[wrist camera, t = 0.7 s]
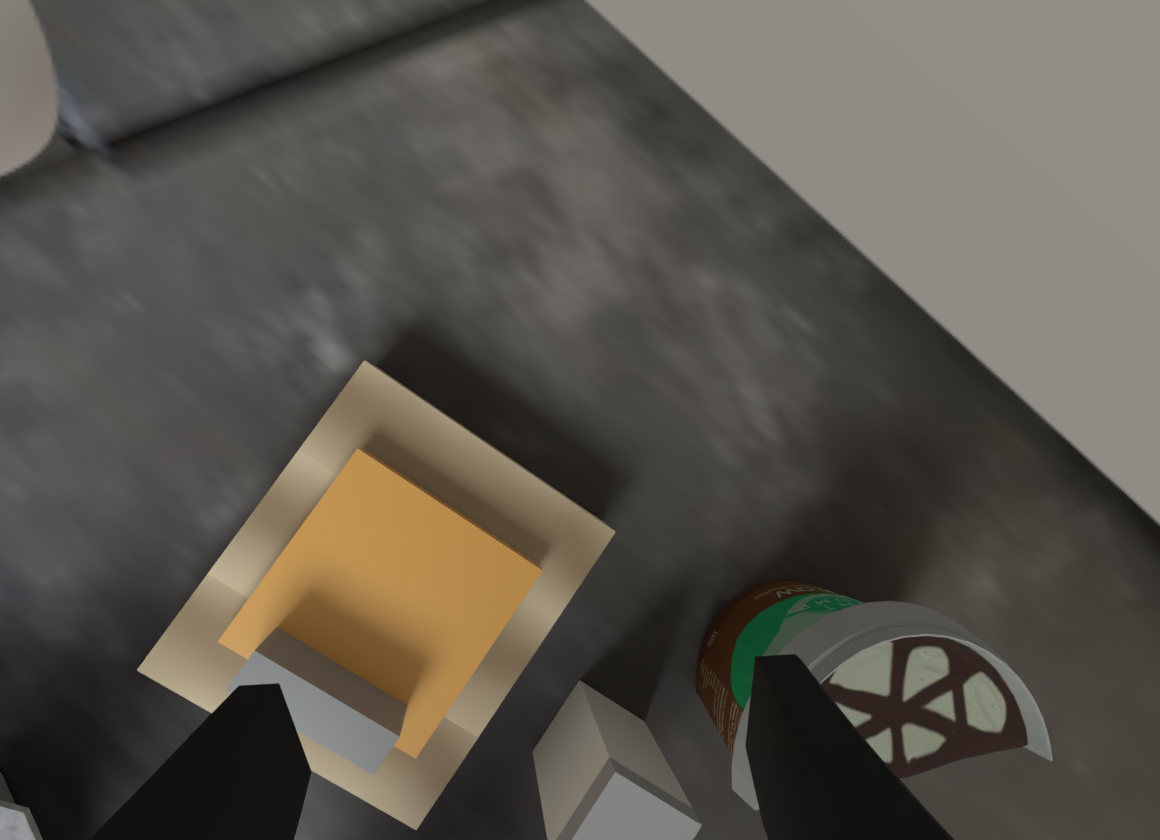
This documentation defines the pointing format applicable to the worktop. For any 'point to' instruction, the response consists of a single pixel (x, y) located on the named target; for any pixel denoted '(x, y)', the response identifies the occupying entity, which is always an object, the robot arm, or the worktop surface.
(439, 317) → the worktop surface
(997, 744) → the food container
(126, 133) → the worktop surface
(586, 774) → the grey upright block
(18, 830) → the electrical outlet
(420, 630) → the shutter
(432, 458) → the socket block
